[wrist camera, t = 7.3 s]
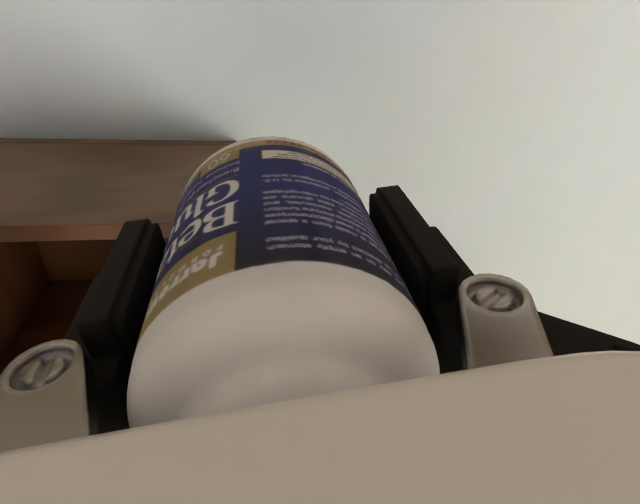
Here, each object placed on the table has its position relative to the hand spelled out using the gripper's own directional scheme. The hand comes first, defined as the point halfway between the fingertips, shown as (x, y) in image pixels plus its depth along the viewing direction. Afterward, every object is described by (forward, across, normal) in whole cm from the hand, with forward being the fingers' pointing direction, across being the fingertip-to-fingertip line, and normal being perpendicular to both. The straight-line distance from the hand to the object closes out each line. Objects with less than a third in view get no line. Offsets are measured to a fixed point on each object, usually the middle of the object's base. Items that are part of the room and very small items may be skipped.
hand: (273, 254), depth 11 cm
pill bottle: (+2, 0, 0) cm, 2 cm away
